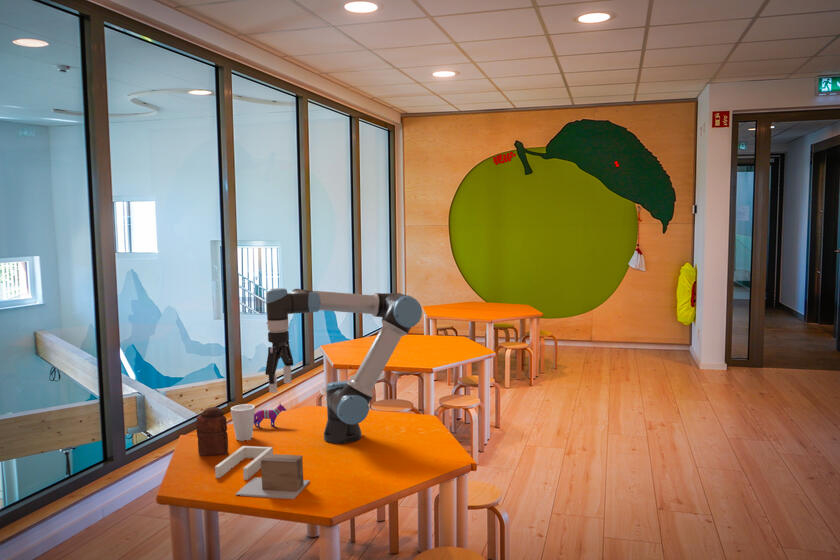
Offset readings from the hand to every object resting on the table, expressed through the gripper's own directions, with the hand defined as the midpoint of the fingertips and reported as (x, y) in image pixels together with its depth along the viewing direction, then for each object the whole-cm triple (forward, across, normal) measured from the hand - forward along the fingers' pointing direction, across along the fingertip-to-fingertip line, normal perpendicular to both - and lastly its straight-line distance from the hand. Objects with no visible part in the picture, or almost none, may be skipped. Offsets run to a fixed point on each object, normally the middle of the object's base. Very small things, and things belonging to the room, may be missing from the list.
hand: (280, 387), depth 252 cm
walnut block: (+26, +28, +11) cm, 40 cm away
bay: (+27, +12, -10) cm, 31 cm away
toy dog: (+27, -34, -22) cm, 49 cm away
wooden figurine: (+27, -1, -29) cm, 40 cm away
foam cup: (+27, -19, -25) cm, 41 cm away
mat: (+27, +28, +8) cm, 40 cm away
